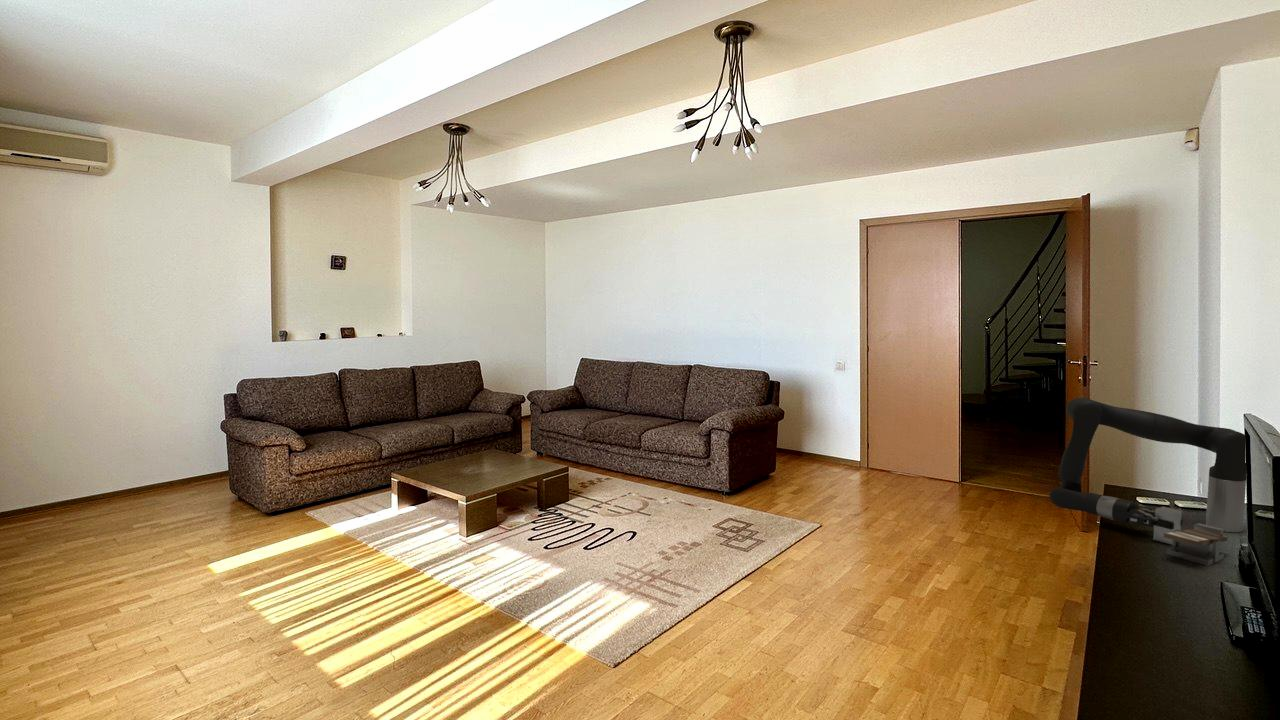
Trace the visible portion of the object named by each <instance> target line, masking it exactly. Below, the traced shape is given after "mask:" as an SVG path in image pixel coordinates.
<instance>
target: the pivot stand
mask: <svg viewBox="0 0 1280 720" xmlns="http://www.w3.org/2000/svg"><path fill="white" fill-rule="evenodd" d="M1176 531H1181V530H1175V531H1173V532H1176ZM1220 547H1221V542H1220V540H1215V541H1213V543H1212V544H1206V545H1200V546H1195V545H1191V544H1188V543H1184V542H1180V541H1176V540H1173V541H1172V545H1171V547H1168V548H1166V555H1168V556H1172V557H1175V558H1179V559H1183V560H1185V561H1190V562H1193V563H1196V564H1200V565H1203V566H1206V567H1208V566H1211V565H1213V564H1217V563H1219V561H1222V560H1224V556H1225V553H1223V552H1220Z"/></svg>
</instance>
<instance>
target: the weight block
mask: <svg viewBox="0 0 1280 720" xmlns="http://www.w3.org/2000/svg"><path fill="white" fill-rule="evenodd" d="M1154 509H1155V518H1158V519H1161V520H1165V521H1169V522H1173V523H1174V529H1172V530H1171V529H1167V528H1163V527H1159V526H1158V527H1155V526H1153V539H1152V540H1153V541H1157V542H1160V543H1165V544H1168V545H1171V546H1172V541H1173V540H1172V539H1169V538H1165V537H1164V533H1169V532H1173V531H1175V530H1180V531H1182V529H1181V527H1182V526H1181V519H1182V516H1183V515H1182V510H1179V509H1175V508H1170V507H1167V506H1161V507H1157V508H1154Z"/></svg>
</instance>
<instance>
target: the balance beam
mask: <svg viewBox="0 0 1280 720" xmlns="http://www.w3.org/2000/svg"><path fill="white" fill-rule="evenodd" d="M1223 530H1224V529H1220V528H1216V527H1212V526H1208V525H1206V524H1204V523H1203V524H1202V523H1200V522H1198V523H1194V526H1193V528H1191V529H1184V530H1180V531H1176V532H1169V533H1164V537H1165V538H1169V539H1172V540H1176V541H1180V542H1184V543H1188V544H1191V545H1195V546H1200V545H1206V544H1212V545H1213V541H1215V540H1220V543H1223V542H1227V541H1228V536H1226V535H1224V531H1223Z"/></svg>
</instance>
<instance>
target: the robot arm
mask: <svg viewBox="0 0 1280 720" xmlns="http://www.w3.org/2000/svg"><path fill="white" fill-rule="evenodd" d="M1065 409H1066V413H1067V415H1068V417H1069V418H1070V419H1071V420H1072V421H1073V422H1072V432H1071V436H1070V439H1069V442H1068V444H1067V446H1066V448H1065V450H1064V452H1063V454H1062V457H1061V462H1060V465H1059V469H1058V477H1059V478H1060V479H1061V486H1057V487H1054V488H1053V489H1051V490H1050V491H1049V495H1048V496H1049V500H1050V502H1051V503H1052V504H1053V505H1055V506H1056V507H1059V508H1061V509H1066V510H1073V511H1079V512H1085V513H1089V514H1090V515H1096V516H1100V517H1102V518H1105V519H1108V520H1111V521H1115V522H1120V523H1122V524H1127V525H1132V524H1133V525H1140V526H1144V527H1149V528H1154V526H1155V527H1158V526H1159V527H1163V528H1167V529H1171V530H1172V529H1174V523H1173V522H1169V521H1165V520H1161V519H1158V518H1155V509H1156V508H1152V507H1149V509H1148V508H1139V507H1138V505H1137V503H1136V502H1134V501H1131V500H1127V499H1123V498H1118V497H1114V496H1108V495H1102V494H1097V493H1095V492H1093V493H1092V492H1083V490H1082V487H1083V484H1082V483H1083V482H1082V478H1083V475H1084V474H1083V473H1084V470H1085V465H1086V462H1087V457H1088V454H1089V451H1090V450H1089V449H1090V447H1091V445H1092V442H1093V439H1094V436H1095V434H1096V431H1097V430H1098V427H1099V425H1100V426H1106V427H1110V428H1112V429H1115V430H1118V431H1121V432H1124V433H1125V434H1129V435H1132V436H1135V437H1137V438H1142V439H1146V440H1150V441H1155V442H1160V443H1167V444H1184V445H1189V446H1193V447H1197V448H1200V449H1203V450H1207V451H1210V452H1212V453H1214V454H1215V462H1214V465H1213V466H1211V467H1209V470H1208V485H1207V486H1208V487H1207V499H1206V500H1207V501H1206V511H1205V512H1206V513H1205V525H1208V526H1212V527H1216V528H1220V529H1224V530H1223V532H1226V533H1241V532H1243V531H1242V530H1243V529H1244V520H1245V519H1244V518H1245V506H1246V505H1245V503H1246V491H1247V490H1246V488H1247V478H1246V463H1245V435H1246V434H1244V433H1243V432H1240V431H1237V430H1234V429H1231V428H1226V427H1218V426H1217V427H1216V426H1210V425H1204V424H1203V425H1202V424H1195V423H1192V422H1188V421H1185V420H1182V419H1180V418H1177V417H1173V416H1168V415H1164V414H1162V413H1161V414H1160V413H1157V412H1156V413H1155V412H1151V411H1144V410H1139V409H1134V408H1126V407H1121V406H1120V407H1119V406H1118V407H1117V406H1114V405H1109V404H1106V403H1104V402H1103V403H1102V402H1100V401H1095V400H1094V399H1090V398H1088V397H1075V398H1074V399H1071V400H1070V401H1068V403H1067V405H1066V408H1065ZM1183 522H1184V521H1183V519H1182V518H1181V527H1183V525H1184V524H1183Z"/></svg>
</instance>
